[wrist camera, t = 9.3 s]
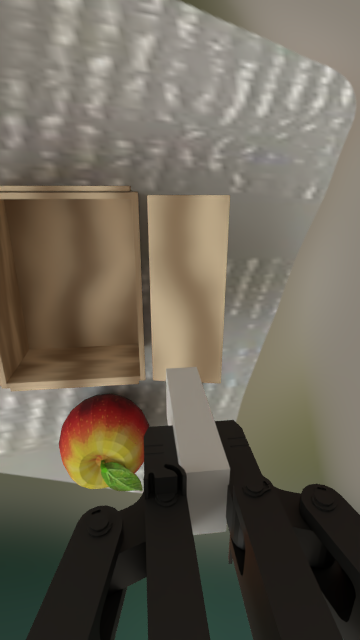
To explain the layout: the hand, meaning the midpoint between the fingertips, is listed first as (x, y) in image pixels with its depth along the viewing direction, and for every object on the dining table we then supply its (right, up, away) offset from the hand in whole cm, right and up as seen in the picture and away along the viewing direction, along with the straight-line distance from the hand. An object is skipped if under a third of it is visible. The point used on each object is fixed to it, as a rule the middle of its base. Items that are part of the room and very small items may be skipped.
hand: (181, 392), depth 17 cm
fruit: (-10, -9, +29) cm, 32 cm away
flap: (+1, +6, +14) cm, 15 cm away
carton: (-11, +8, +22) cm, 26 cm away
